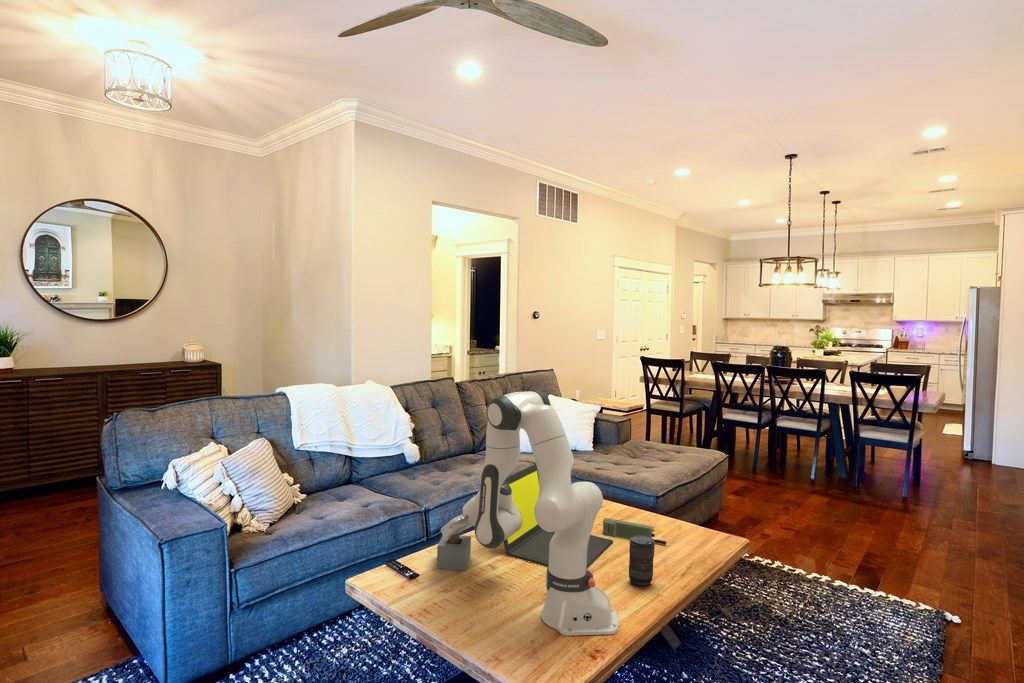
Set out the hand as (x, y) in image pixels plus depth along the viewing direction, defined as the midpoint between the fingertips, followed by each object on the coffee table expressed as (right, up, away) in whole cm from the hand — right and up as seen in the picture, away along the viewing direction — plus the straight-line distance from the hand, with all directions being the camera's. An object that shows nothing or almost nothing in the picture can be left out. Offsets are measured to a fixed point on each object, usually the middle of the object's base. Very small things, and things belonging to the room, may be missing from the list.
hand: (453, 533), depth 198 cm
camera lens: (+63, -13, -10) cm, 66 cm away
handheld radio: (+69, -12, +26) cm, 75 cm away
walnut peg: (0, -6, 0) cm, 6 cm away
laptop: (+37, -11, +17) cm, 42 cm away
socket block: (0, -11, 0) cm, 11 cm away
